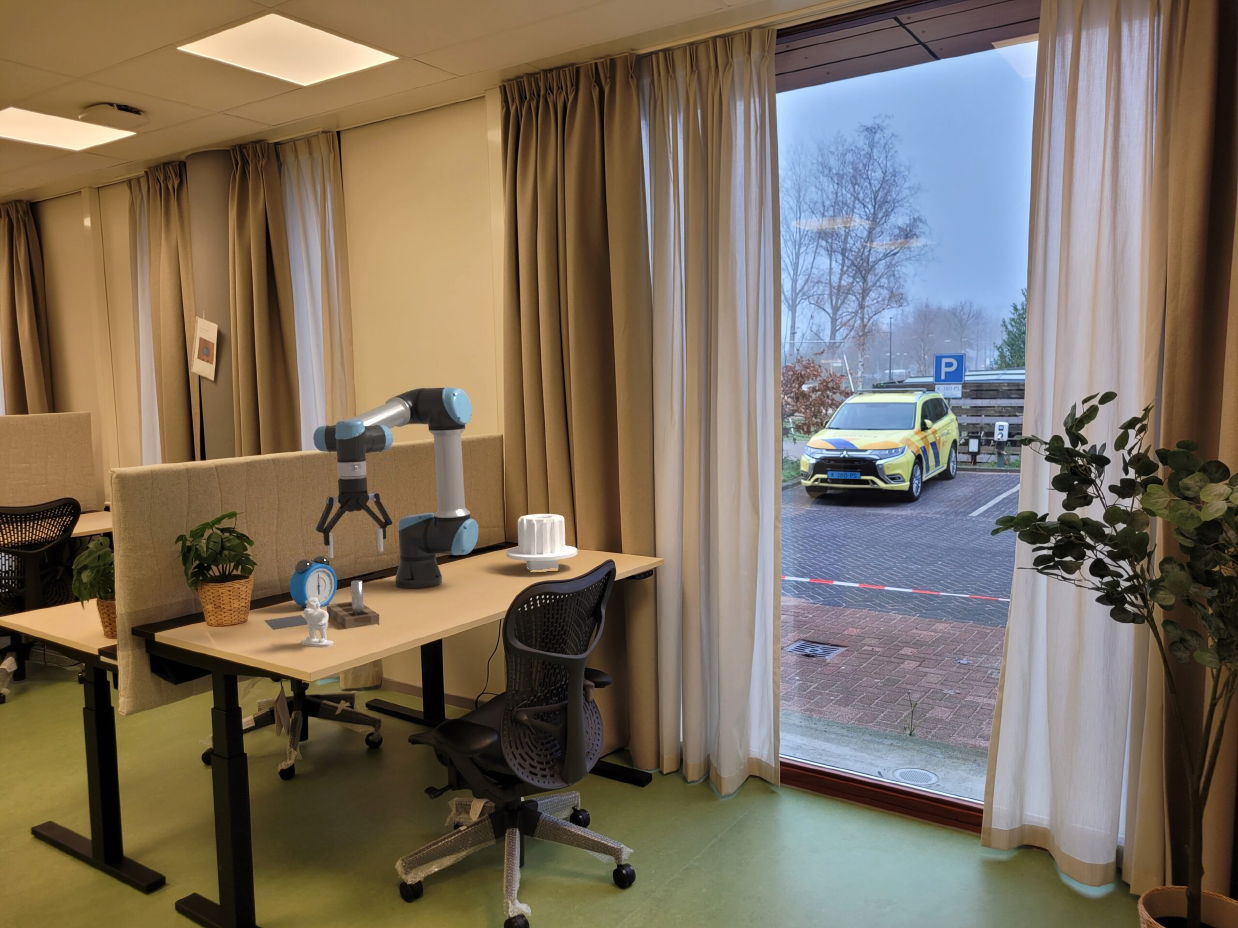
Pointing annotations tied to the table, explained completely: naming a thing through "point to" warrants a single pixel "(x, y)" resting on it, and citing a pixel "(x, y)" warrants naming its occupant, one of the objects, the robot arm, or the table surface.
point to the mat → (286, 622)
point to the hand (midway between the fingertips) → (356, 554)
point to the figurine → (316, 624)
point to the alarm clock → (313, 581)
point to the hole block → (345, 617)
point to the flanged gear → (541, 541)
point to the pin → (357, 598)
